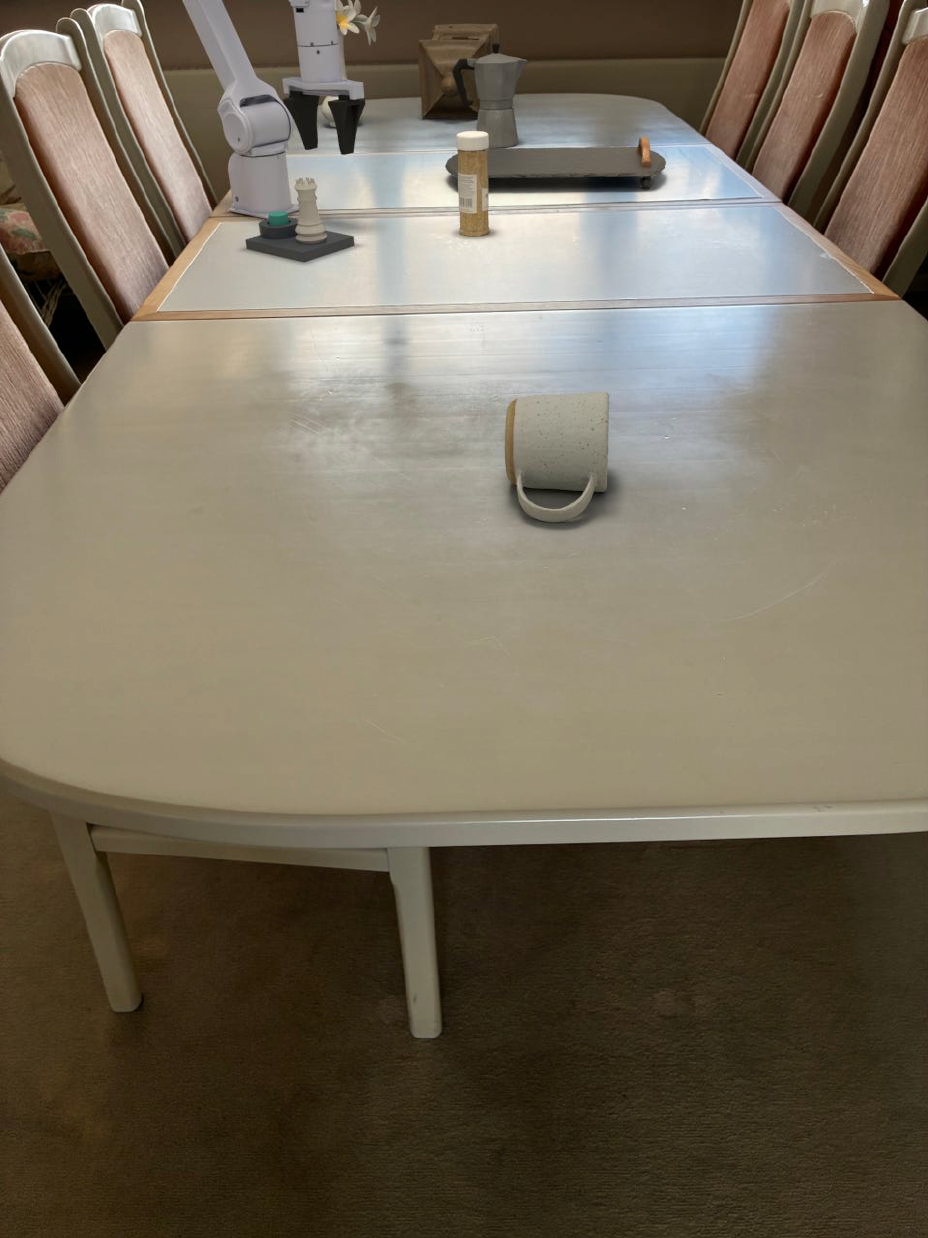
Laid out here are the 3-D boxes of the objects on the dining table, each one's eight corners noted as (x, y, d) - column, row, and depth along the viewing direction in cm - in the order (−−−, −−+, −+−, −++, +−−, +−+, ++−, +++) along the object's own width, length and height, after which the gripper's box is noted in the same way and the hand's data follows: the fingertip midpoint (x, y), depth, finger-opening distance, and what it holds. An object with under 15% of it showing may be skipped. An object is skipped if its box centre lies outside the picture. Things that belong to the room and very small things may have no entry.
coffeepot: (521, 137, 202) (522, 38, 192) (533, 145, 195) (535, 42, 184) (449, 142, 200) (446, 42, 189) (459, 151, 192) (456, 47, 182)
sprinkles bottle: (495, 233, 141) (495, 132, 133) (469, 238, 139) (467, 136, 131) (478, 227, 144) (476, 128, 136) (452, 232, 142) (449, 132, 134)
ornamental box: (481, 138, 217) (491, 44, 205) (404, 127, 218) (410, 33, 206) (497, 108, 244) (507, 24, 233) (429, 99, 245) (435, 14, 233)
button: (265, 225, 138) (264, 213, 137) (280, 221, 140) (278, 209, 139) (278, 228, 137) (277, 216, 136) (293, 223, 138) (291, 212, 138)
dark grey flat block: (242, 248, 138) (239, 226, 136) (293, 233, 144) (291, 211, 143) (304, 262, 132) (301, 240, 130) (354, 246, 138) (352, 224, 136)
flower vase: (384, 128, 215) (375, -4, 200) (302, 131, 215) (287, -2, 201) (388, 119, 226) (380, -8, 211) (310, 121, 226) (297, -6, 211)
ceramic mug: (510, 460, 82) (510, 375, 77) (607, 463, 81) (613, 377, 76) (499, 525, 74) (499, 434, 69) (607, 529, 73) (613, 437, 68)
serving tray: (440, 193, 163) (439, 153, 159) (451, 165, 181) (450, 128, 178) (670, 191, 160) (674, 150, 156) (658, 162, 178) (661, 125, 175)
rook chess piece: (332, 236, 137) (326, 176, 132) (319, 245, 133) (312, 183, 129) (304, 234, 138) (297, 174, 133) (290, 243, 135) (282, 181, 130)
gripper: (375, 43, 132) (383, 150, 140) (303, 39, 140) (314, 142, 148) (339, 48, 128) (349, 159, 136) (266, 44, 136) (280, 149, 143)
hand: (329, 151), depth 142 cm, fingers open, 7 cm apart
